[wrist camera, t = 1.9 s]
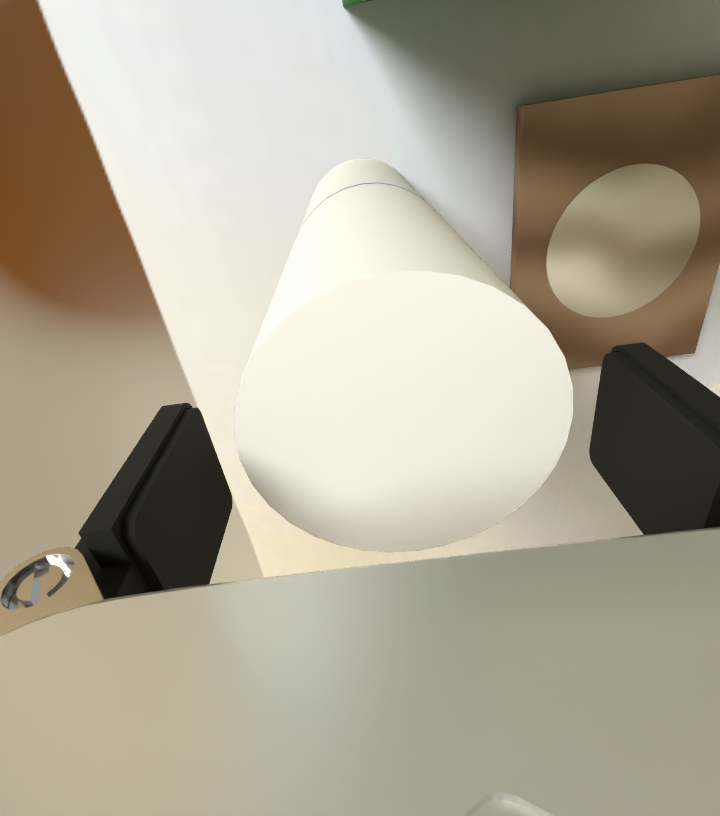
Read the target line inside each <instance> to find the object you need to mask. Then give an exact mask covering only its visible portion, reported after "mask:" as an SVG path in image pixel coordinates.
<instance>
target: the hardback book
mask: <svg viewBox="0 0 720 816" xmlns="http://www.w3.org/2000/svg"><path fill="white" fill-rule="evenodd" d="M342 1H343V7H345V6H349V5H354V4H358V3H362V2H366V1H371V0H342Z"/></svg>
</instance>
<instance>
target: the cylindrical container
mask: <svg viewBox="0 0 720 816" xmlns="http://www.w3.org/2000/svg"><path fill="white" fill-rule="evenodd" d="M572 418H573V385H572V382H571V378H570V374H569V370H568V367H567V363H566V359H565V356H564V355H563V353H562V351H561V350H560V348H559V346H558V345H557V343H556V341H555V339H554V338H553V336H552V334H551V333H550V331H549V329H548V328H547V327H546V326H545V325H544V324H543V323H542V322H541V321H540V320H539V319H538V318H537V317H536V316H535V315H534V313H533V312H532V311H531V310H530V309H529V308H528V307H527V306H526V305H525V304H524V303H523V302H522V301H521V300H520V299H519V298H518V297H517V296H516V295H515V294H514V292H513V291H512V290H511V289H510V288H509V287H508V286H507V285H506V284H505V283H504V282H503V281H502V280H501V279H500V278H499V277H498V276H497V275H496V274H495V273H494V271H493V270H492V269H491V268H490V267H489V266H488V265H487V264H486V263H485V262H484V261H483V260H482V259H481V258H480V257H479V256H478V255H477V254H476V253H475V251H474V250H473V249H472V248H471V247H470V246H469V245H468V244H467V243H466V242H465V241H464V240H463V239H462V238H461V237H460V236H459V235H458V234H457V233H456V232H455V231H454V230H453V229H452V228H451V227H450V226H449V225H448V223H447V222H446V221H445V220H444V219H443V218H442V217H441V216H440V215H439V214H438V213H437V212H436V211H435V210H434V209H433V208H432V207H431V206H430V205H429V204H428V203H427V202H426V200H425V199H424V198H423V197H422V196H421V195H420V194H419V193H418V192H417V191H416V190H415V189H414V188H413V187H412V186H411V185H410V184H409V183H408V182H407V181H406V180H405V179H404V178H403V177H402V176H401V175H400V174H399V173H398V172H397V171H396V170H395V169H394V168H392V167H391V166H389V165H388V164H386V163H383V162H381V161H378V160H374V159H368V158H361V159H353V160H349V161H346V162H343V163H341V164H340V165H338V166H336V167H334V168H333V169H332V170H331V171H329V172H328V173H327V174H326V175H325V176H324V177H323V179H322V180H321V181H320V183H319V184H318V186H317V188H316V190H315V192H314V194H313V197H312V199H311V202H310V204H309V207H308V209H307V212H306V215H305V217H304V220H303V222H302V225H301V227H300V230H299V232H298V235H297V238H296V240H295V243H294V245H293V248H292V250H291V253H290V255H289V258H288V261H287V263H286V266H285V268H284V271H283V273H282V276H281V278H280V281H279V283H278V286H277V289H276V291H275V294H274V296H273V299H272V301H271V304H270V306H269V309H268V312H267V314H266V317H265V319H264V322H263V324H262V327H261V329H260V332H259V335H258V337H257V340H256V342H255V345H254V347H253V350H252V353H251V355H250V358H249V360H248V363H247V365H246V368H245V370H244V373H243V376H242V378H241V381H240V385H239V389H238V393H237V398H236V402H235V407H234V436H235V440H236V444H237V449H238V453H239V457H240V461H241V463H242V465H243V467H244V469H245V471H246V473H247V475H248V477H249V479H250V481H251V483H252V485H253V486H254V487H255V488H256V490H257V491H258V492H259V493H260V495H261V496H262V497H263V498H264V500H265V501H266V502H267V503H268V504H269V506H270V507H272V508H273V509H274V510H275V511H277V512H278V513H279V514H280V515H281V516H283V517H284V518H285V519H286V520H287V521H289V522H290V523H291V524H293V525H295V526H297V527H299V528H300V529H302V530H304V531H306V532H308V533H309V534H311V535H313V536H315V537H318V538H320V539H323V540H326V541H329V542H331V543H334V544H337V545H340V546H345V547H350V548H355V549H359V550H364V551H378V552H406V551H419V550H424V549H429V548H434V547H440V546H445V545H448V544H451V543H454V542H457V541H459V540H462V539H465V538H468V537H471V536H474V535H476V534H477V533H479V532H481V531H483V530H485V529H487V528H489V527H491V526H493V525H495V524H497V523H499V522H500V521H502V520H503V519H504V518H506V517H507V516H508V515H510V514H511V513H513V512H514V511H515V510H517V509H518V508H520V507H521V506H522V505H523V504H524V503H525V502H526V501H527V500H528V499H529V498H530V497H531V496H532V495H533V494H534V493H535V492H536V491H537V490H538V489H539V488H540V487H541V486H542V484H543V483H544V482H545V480H546V479H547V477H548V476H549V475H550V473H551V472H552V470H553V469H554V468H555V466H556V464H557V462H558V460H559V458H560V456H561V454H562V451H563V449H564V447H565V445H566V443H567V439H568V435H569V431H570V426H571V422H572Z"/></svg>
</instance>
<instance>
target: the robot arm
mask: <svg viewBox="0 0 720 816" xmlns="http://www.w3.org/2000/svg"><path fill="white" fill-rule="evenodd" d="M589 452H590V459H591V461H592V464H593V465H594V467H595V468H596V470H597V471H598V472H599V474H600V475H601V476H602V478H603V479H604V481H605V482H606V483H607V485H608V486H609V487H610V489H611V490H612V492H613V493H614V494H615V496H616V497H617V498H618V500H619V501H620V503H621V504H622V505H623V507H624V508H625V509H626V511H627V512H628V513H629V515H630V516H631V518H632V519H633V520H634V522H635V523H636V524H637V526H638V527H639V529H640V530H641V531H642V533H643V534H644V535H640V536H630V537H621V538H612V539H603V540H593V541H584V542H575V543H566V544H557V545H548V546H539V547H530V548H521V549H512V550H504V551H495V552H486V553H477V554H468V555H459V556H450V557H441V558H432V559H423V560H415V561H406V562H397V563H388V564H380V565H371V566H362V567H353V568H345V569H336V570H327V571H318V572H310V573H301V574H293V575H284V576H276V577H267V578H259V579H251V580H242V581H233V582H225V583H218V584H209V583H210V579H211V576H212V573H213V569H214V566H215V563H216V559H217V556H218V553H219V549H220V546H221V543H222V539H223V536H224V533H225V529H226V526H227V523H228V519H229V516H230V513H231V509H232V495H231V492H230V489H229V487H228V484H227V481H226V478H225V476H224V473H223V470H222V468H221V465H220V462H219V460H218V457H217V454H216V452H215V449H214V446H213V443H212V441H211V438H210V435H209V433H208V430H207V427H206V425H205V422H204V419H203V416H202V414H201V412H200V410H199V409H198V408H192V406H191V405H190V404H188V403H182V404H175V405H167V406H162V407H161V408H160V410H159V411H158V413H157V415H156V416H155V417H154V419H153V420H152V422H151V423H150V425H149V427H148V428H147V430H146V431H145V433H144V434H143V436H142V437H141V439H140V440H139V442H138V443H137V445H136V446H135V448H134V449H133V451H132V452H131V454H130V455H129V457H128V458H127V460H126V462H125V463H124V464H123V466H122V468H121V469H120V470H119V472H118V473H117V475H116V477H115V478H114V480H113V481H112V483H111V484H110V486H109V487H108V489H107V490H106V492H105V493H104V495H103V496H102V498H101V499H100V501H99V502H98V504H97V506H96V507H95V508H94V510H93V511H92V513H91V515H90V516H89V518H88V519H87V521H86V522H85V524H84V525H83V527H82V528H81V530H80V531H79V535H80V536H81V540H80V541H79V543H78V544H77V546H76V547H75V549H73V548H70V547H64V548H55V549H52V550H48V551H44V552H42V553H40V554H38V555H36V556H33V557H31V558H30V559H28V560H26V561H25V562H23V563H22V564H20V565H19V566H17V567H16V568H15V569H14V570H12V571H11V572H10V573H9V574H8V575H7V576H6V577H5V578H4V579H3V580H2V581H1V582H0V816H720V397H719V396H718V395H716V394H715V393H714V392H712V391H711V390H709V389H708V388H707V387H705V386H704V385H703V384H701V383H700V382H698V381H697V380H696V379H694V378H693V377H691V376H690V375H689V374H687V373H686V372H685V371H683V370H682V369H680V368H679V367H678V366H676V365H675V364H674V363H672V362H671V361H669V360H668V359H667V358H665V357H664V356H663V355H661V354H660V353H658V352H657V351H656V350H654V349H653V348H651V347H650V346H649V345H647V344H646V343H643V342H641V343H633V344H626V345H618V346H615V347H613V348H612V350H611V352H610V353H607V354H606V355H605V356H604V358H603V362H602V369H601V376H600V382H599V389H598V396H597V402H596V409H595V416H594V422H593V429H592V436H591V442H590V450H589Z"/></svg>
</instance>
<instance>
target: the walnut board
mask: <svg viewBox="0 0 720 816" xmlns="http://www.w3.org/2000/svg"><path fill="white" fill-rule="evenodd" d="M719 262H720V74H717V75H710V76H704V77H698V78H692V79H685V80H679V81H673V82H666V83H660V84H654V85H648V86H641V87H635V88H629V89H623V90H616V91H610V92H604V93H597V94H591V95H585V96H579V97H572V98H566V99H560V100H554V101H547V102H541V103H535V104H528V105H522V106H517V122H516V148H515V175H514V201H513V228H512V255H511V281H510V289H511V290H512V291H513V292H514V294H515V295H516V296H517V297H518V298H519V299H520V300H521V301H522V302H523V303H524V304H525V305H526V306H527V307H528V308H529V309H530V310H531V311H532V312H533V313H534V315H535V316H536V317H537V318H538V319H539V320H540V321H541V322H542V323H543V324H544V325H545V326H546V327H547V328H548V329H549V331H550V333H551V334H552V336H553V338H554V339H555V341H556V343H557V345H558V346H559V348H560V350H561V351H562V353H563V355H564V356H565V359H566V363H567V367H568V369H576V368H584V367H591V366H599V365H602V362H603V358H604V356H605V355H606V354H607V353H610V352H611V350H612V348H613V347H615V346H618V345H626V344H633V343H641V342H643V343H646V344H647V345H649V346H650V347H651V348H653V349H654V350H656V351H657V352H658V353H660V354H661V355H663V356H664V357H667V356H675V355H682V354H690V353H695V349H696V346H697V342H698V338H699V335H700V331H701V327H702V324H703V320H704V317H705V313H706V309H707V306H708V302H709V298H710V295H711V291H712V287H713V284H714V280H715V277H716V273H717V269H718V266H719Z"/></svg>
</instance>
